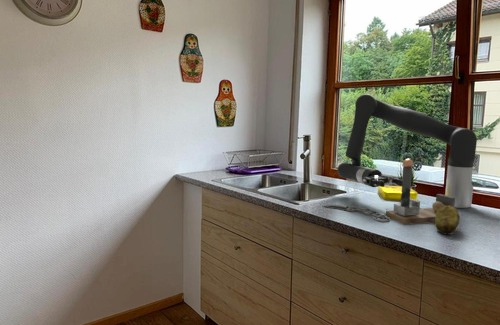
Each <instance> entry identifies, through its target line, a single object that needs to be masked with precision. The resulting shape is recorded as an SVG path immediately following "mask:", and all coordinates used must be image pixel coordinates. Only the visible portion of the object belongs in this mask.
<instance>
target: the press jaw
mask: <svg viewBox="0 0 500 325" xmlns="http://www.w3.org/2000/svg"><path fill="white" fill-rule="evenodd" d="M402 166H403V168H402V178H401V180H402V192H401V201H400V203H399V202H397V203H393V210H392V211H393V212H396V213H398V214H401V215H403V216H409V215H419V210H420V207H421V202H420V201H419V200H417V201H416V200H413V199H410V191H411V189H412V177H413V176H412V175H413V167H414V161H413V160H412V159H410V158H406V159H404V160H403V161H402Z"/></svg>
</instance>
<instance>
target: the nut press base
mask: <svg viewBox="0 0 500 325" xmlns="http://www.w3.org/2000/svg"><path fill="white" fill-rule="evenodd" d="M435 197H436V198H435V202H437V201H438V202H441V203H443V205H449V206H453V207H454V206H455V198H453V197H450V196H446V195H445V194H442V193H437V194H436V196H435ZM384 215H386V216H388V217H389V219H390V220H394V221H395V222H398V223H400V224H403V225H414V224H415V225H416V224H429V223H430V224H431V223H435V216H436V211H434V210H433V208H432V207H426V208H424V207H423V208H420V210H419V215H409V216H403V215H401V214H398V213H396V212H393V210H385V214H384Z"/></svg>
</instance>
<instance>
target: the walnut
mask: <svg viewBox="0 0 500 325" xmlns="http://www.w3.org/2000/svg"><path fill="white" fill-rule="evenodd" d="M441 206H444V205H443V203H441V202H438V201H437V202H436V201H434V202H433V203H432V207H431V208H433V210H434V211H436V212H437V210H438V209H439V208H440V207H441Z"/></svg>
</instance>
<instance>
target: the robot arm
mask: <svg viewBox="0 0 500 325" xmlns="http://www.w3.org/2000/svg"><path fill="white" fill-rule="evenodd" d="M354 105H355V107H354V108H355V111H354V118H353V125H352V129H351V132H350V135H349V139H348V143H347V147H346V151H345V156H346V157H347V158H348V159H351V163H350V162H342V163H339V165H338V166H337V168H336V169H337V174H338V176H339V177H341V178H343V179H348V180H352V181H355V182H357V183H361V184H362V185H365V186H368V187H372V188H378V186H381V187H384V185H388V186H393V185H394V186H402V178H401V177H398V176H394V175H386V174H383V173H382V172H381V171H380V170H379V169H376V168H373V167H367V166H366V167H365V166H362V165H361V164H362V152H363V149H364V146H365V140H366V134H367V129H368V125H369V122H370V120H371V117H372V118H376V119H380V120H382V121H385V122H387V123H389V124H391V125H393V126H394V127H397V128H400V129H402V130H404V131H407V132H410V133H412V134H416V135H418V136H423V137H428V138H433V139H436V140H438V141H441V142H443V143H445V144H447V145H449V146H450V148H449V157H448V159H447V170H446V183H445V185H446V186H445V193H444V195H446V196H450V197H453V198H455V206H454V207H455V208H456V209H458V208H459V209H466V208H472V204H473V203H472V201H473V193H474V185H473V184H472V179H473V171H474V168H473V167H474V162H475V159H476V152H477V141H478V137H477V135H476V133H475V132H474V131H473V130H471V129H470V128H465V127H460V126H456V125H455V126H454V125H450V124H448V123H444V122H442V121H439V120H437V119H435V118H433V117H431V116H429V115H427V114H426V113H423V112H420V111H417V110H413V109H411V108H406V107H402V106H396V105H392V104H388V103H386V102H384V101H381V100H379V99H377V98H375V97H374V96H373V95H372V94H368V93H365V94H361V95H360V96H358V98H357V99H356V101H355V103H354Z"/></svg>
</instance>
